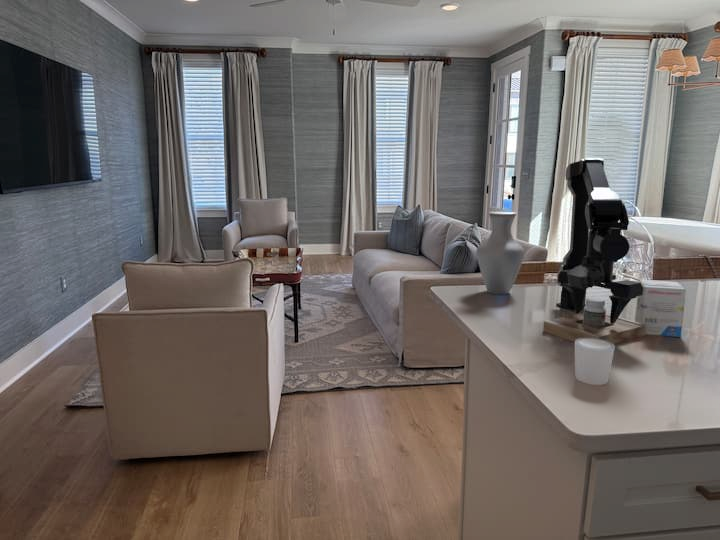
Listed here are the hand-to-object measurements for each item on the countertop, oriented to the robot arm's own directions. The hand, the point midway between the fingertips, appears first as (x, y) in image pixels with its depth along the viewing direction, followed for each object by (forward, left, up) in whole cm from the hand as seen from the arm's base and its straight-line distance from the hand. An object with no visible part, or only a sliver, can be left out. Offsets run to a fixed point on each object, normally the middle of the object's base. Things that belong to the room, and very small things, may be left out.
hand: (594, 318), depth 120 cm
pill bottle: (0, 0, -4) cm, 4 cm away
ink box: (-15, +6, -4) cm, 17 cm away
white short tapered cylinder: (+23, +17, -4) cm, 29 cm away
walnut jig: (0, 0, -4) cm, 4 cm away
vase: (-9, -41, -4) cm, 42 cm away
